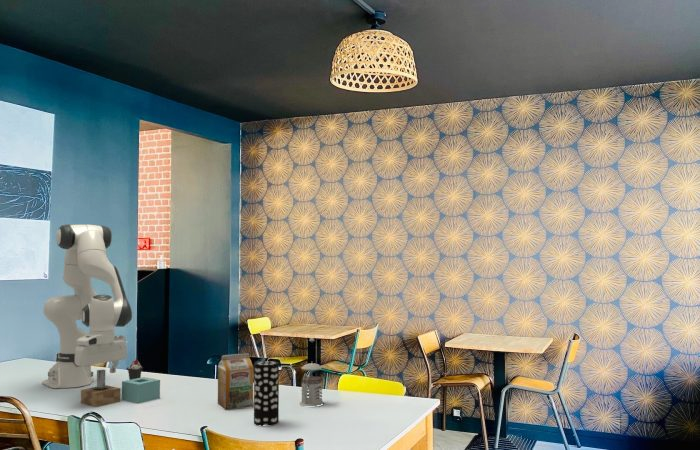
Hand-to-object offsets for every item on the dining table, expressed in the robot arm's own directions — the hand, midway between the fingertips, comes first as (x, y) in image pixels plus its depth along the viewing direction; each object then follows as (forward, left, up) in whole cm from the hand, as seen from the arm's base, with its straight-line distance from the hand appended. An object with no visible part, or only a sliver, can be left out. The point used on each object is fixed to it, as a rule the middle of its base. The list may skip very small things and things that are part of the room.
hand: (101, 374), depth 231 cm
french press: (+65, +46, -12) cm, 80 cm away
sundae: (-7, +20, -12) cm, 24 cm away
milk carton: (+42, +29, -12) cm, 52 cm away
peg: (0, 0, -10) cm, 10 cm away
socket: (0, 0, -11) cm, 11 cm away
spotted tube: (+68, +18, -12) cm, 71 cm away
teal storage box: (+8, +12, -11) cm, 18 cm away
